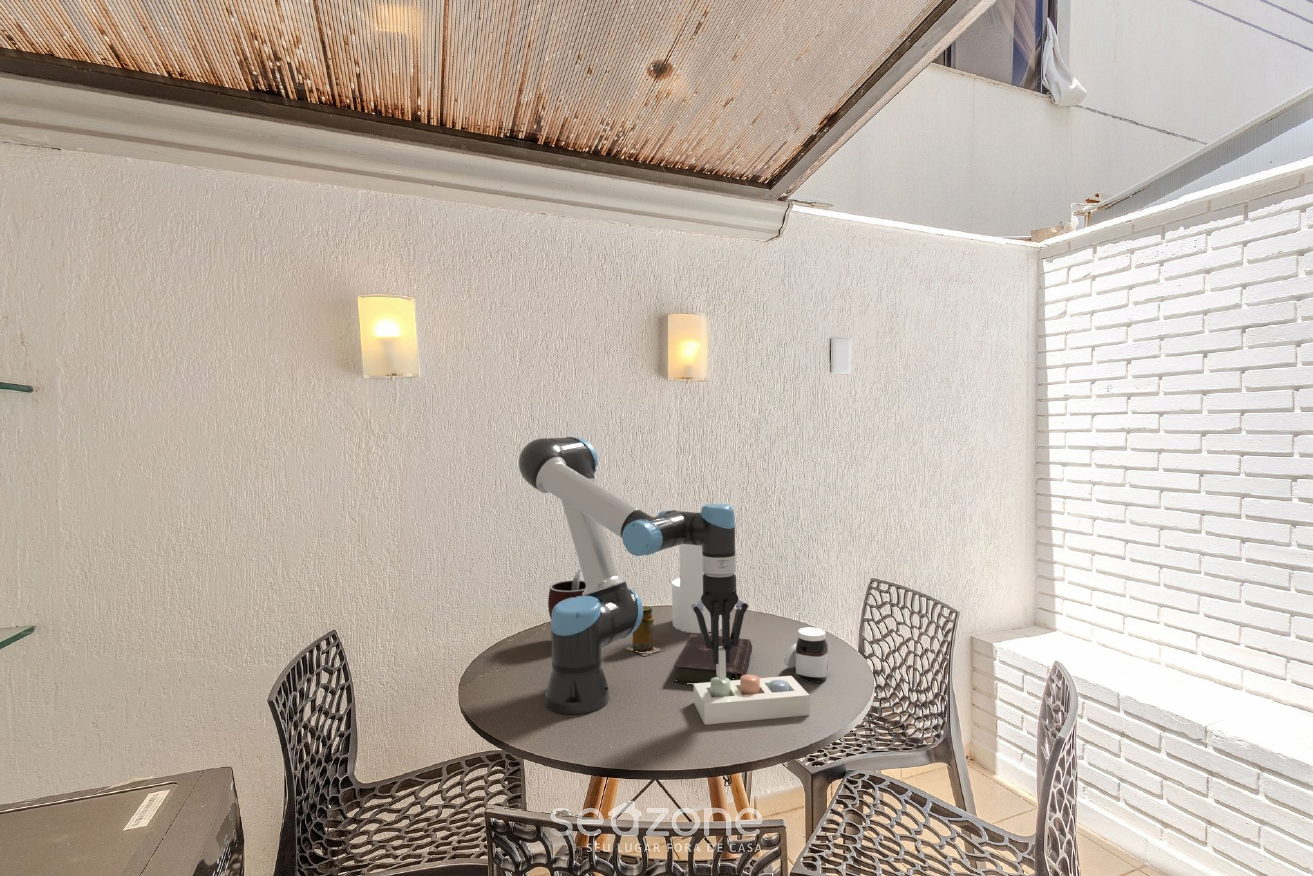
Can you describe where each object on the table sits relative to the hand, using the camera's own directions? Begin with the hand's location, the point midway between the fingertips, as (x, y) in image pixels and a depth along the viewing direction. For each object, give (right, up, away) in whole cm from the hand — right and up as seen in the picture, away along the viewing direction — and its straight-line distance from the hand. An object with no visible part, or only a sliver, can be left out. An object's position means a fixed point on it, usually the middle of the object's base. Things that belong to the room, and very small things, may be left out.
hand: (721, 677), depth 143 cm
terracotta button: (+7, -4, +1) cm, 8 cm away
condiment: (-18, -8, +40) cm, 44 cm away
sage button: (0, -4, 0) cm, 4 cm away
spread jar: (+24, -7, +21) cm, 33 cm away
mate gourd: (-40, -8, +48) cm, 63 cm away
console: (+7, -8, +1) cm, 10 cm away
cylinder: (-1, -7, +62) cm, 63 cm away
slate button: (+14, -6, +2) cm, 15 cm away
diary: (+1, -8, +26) cm, 27 cm away
